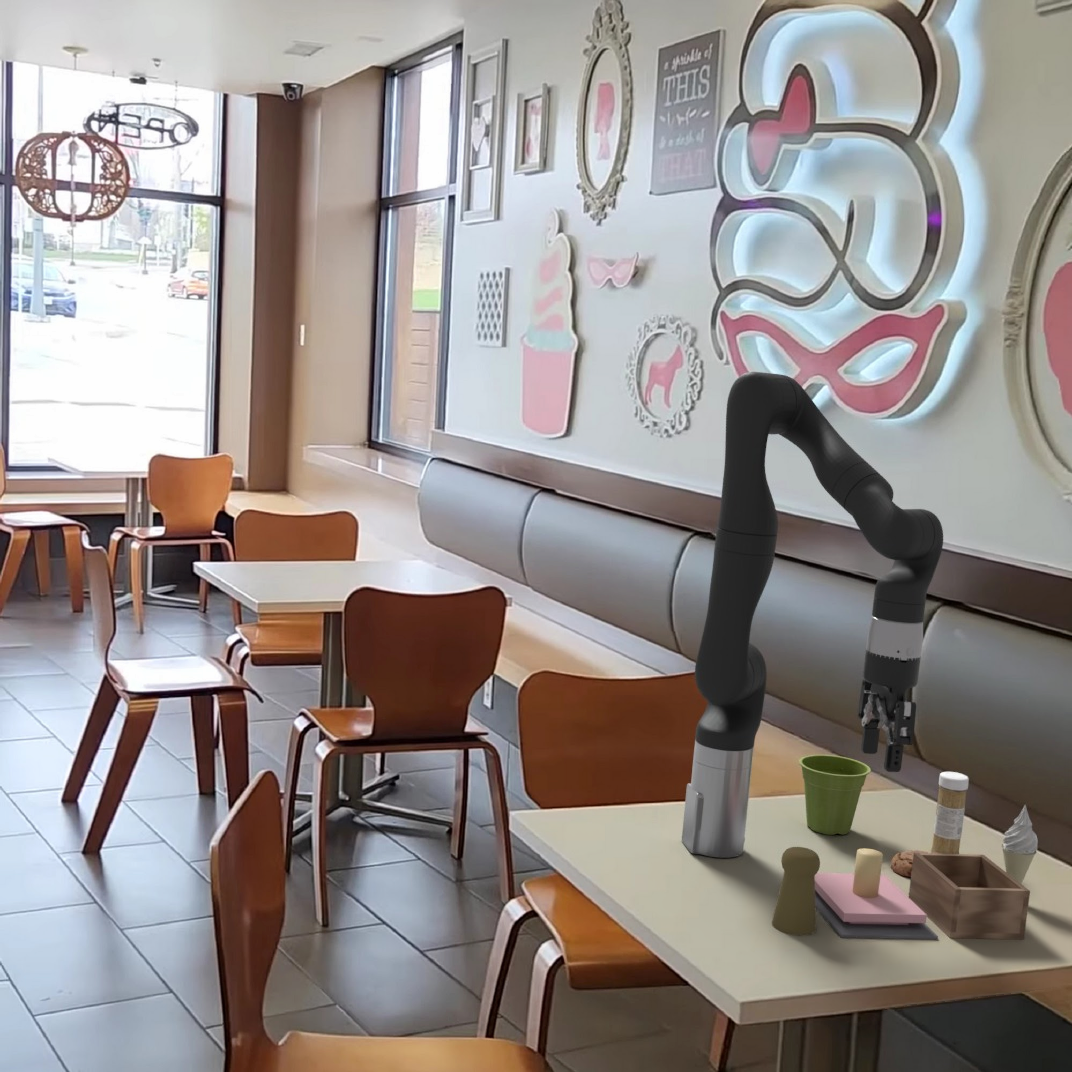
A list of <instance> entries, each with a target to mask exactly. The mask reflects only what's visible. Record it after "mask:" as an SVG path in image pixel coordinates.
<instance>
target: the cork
mask: <svg viewBox="0 0 1072 1072" xmlns="http://www.w3.org/2000/svg"><path fill="white" fill-rule="evenodd" d="M781 867H782V869H783V871H784V872H783V875H782V880H781V885H780V887H779V892H778V896H777V900H776V904H775V907H774V912H773V916H772V920H771V926H772V927H773V928H775V929H776V930H778V931H780V932H781V933H785V934H788V935H793V936H809V935H812V934H814V933H816V932H817V919H816V918H817V917H816V908H815V875H816V873H819V870H820V867H821V861H820V857H819V854H818V853H817V852H816V851H814V850H813V849H811V848H807V847H803V846H790V847H788V848H786V849H785V850H784V851H783V853H782V855H781Z"/></svg>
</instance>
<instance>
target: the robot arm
mask: <svg viewBox="0 0 1072 1072" xmlns="http://www.w3.org/2000/svg"><path fill="white" fill-rule="evenodd" d="M725 415H726V416H725V441H724V443H725V446H724V447H725V448H724V449H725V450H724V467H723V468H724V469H723V477H722V488H721V497H720V498H721V499H720V508H719V514H718V518H717V519H718V520H717V524H716V525H717V526H716V527H717V528H716V535H715V542H714V547H713V549H714V550H713V558H712V559H713V561H712V568H711V569H712V571H711V578H710V587H709V593H708V594H709V595H708V604H707V612H706V618H705V622H704V627H703V632H702V636H701V640H700V643H699V649H698V652H697V655H696V662H695V666H694V667H695V668H694V681H695V684H696V687H697V690H698V692H699V693H700V695H701V696H702V698H703V699H704V700H706V701H707V705H706V708H705V710H704V712H703V714H702V716H701V718H699V720H698V723H696V724H697V725H696V728H695V740H694V749H693V758H692V759H693V760H692V770H691V771H692V772H691V781H690V783H689V782H688V783H687V784H686V791H685V792H686V793H685V801H684V811H683V821H682V822H683V823H682V830H681V831H682V833H681V842H682V843H683V845H684V846H685V847H686V848H687V850H688V851H689V852H690V854H697V855H703V856H706V857H712V858H734V857H738V856H741V855H742V854H743V853H744V846H745V845H744V844H745V840H746V838H745V837H746V835H745V834H746V826H747V819H748V809H749V808H748V807H749V798H750V788H751V780H752V779H751V777H752V770H753V769H752V767H753V760H754V759H753V758H754V749H755V740H756V735H757V733H758V731H759V728H760V726H761V721H762V717H763V709H764V703H765V695H766V688H767V664H766V661H765V658H764V656H763V654H762V652H761V651H760V650H759V649H758V648H757V646H756V645H754V644H753V643H750V640H751V639H750V635H751V629H752V622H753V619H754V615H755V612H756V608H757V607H758V604H759V602H760V599H761V597H762V596H763V592H764V590H765V588H766V585H767V583H768V580H769V577H770V575H771V571H772V568H773V565H774V559H775V555H776V546H777V540H778V532H779V531H778V530H779V520H778V514H777V513H778V512H777V509H776V505H775V502H774V501H775V500H774V498H773V495H772V492H771V489H770V487H769V486H770V485H769V484H768V479H767V475H766V473H767V472H766V454H767V443H768V440H769V439H768V438H769V435H780V436H781V437H782V438H784V439H786V440H788V441H789V442H791V443H792V444H793V445H794V446H796V447H797V448H798V449H799V450H801V451H802V453H803V454H804V455H805V456H806V458H808V461H809V462H810V464H811V466H812V469H813V471H814V474H815V476H816V478H817V480H818V481H819V483H820V484H821V487H822V488H823V489H824V490H825V491H826V492H827V494H828V495H829V496H830V497H831V498H833V500H834V501H836V502H837V503H838V504H839V506H840V507H842V508H843V509H844V510H845V511H846V513H848V514H849V515H850V516H852V518H853V519H854V522H855V523H856V526H857V527H858V528H859V530H860V532H861V533H862V535H863V537H864V538H865V539H866V542H867V543H868V544H869V545H870V546H871V548H873V550H875V551H876V552H877V553H879V555H881V556H882V557H884V558H886V559H889V560H893V561H894V562H893V564H892V567H891V569H890V570H889V572H888V573H886V574H884V575H882V576H881V577H880V578H878V580H877V582H876V583H875V588H874V594H873V595H874V597H873V603H872V612H871V619H870V623H869V626H868V629H867V630H868V632H867V637H866V648H865V655H864V664H863V671H862V678H863V679H862V683H861V686H860V687H861V688H860V695H859V700H858V701H859V702H858V709H857V718H858V719H859V720H861V726H862V727H863V729H862V736H861V737H862V738H861V747H860V751H861V752H862V753H863V754H868V755H874V754H875V755H876V754H877V753H878V746H879V740H880V730H883V731H884V732H885V737H886V747H885V755H884V762H883V764H884V765H883V769H884V770H885V771H886V772H888V773H899V772H900V771H901V769H902V763H903V753H904V747H907V746H912V745H913V743H914V735H915V724H916V715H917V703H916V701H915V702H914V701H907V690H909V689H913V688H915V687H917V685H918V682H919V674H920V668H921V667H920V665H921V660H922V659H921V658H922V651H923V650H922V649H923V641H924V618H925V610H926V609H925V608H926V603H927V600H926V599H927V592H928V589H929V587H930V585H931V583H932V581H933V578H934V575H935V573H936V569H937V567H938V564H939V561H940V559H941V556H942V550H943V546H944V529H943V525H942V522H941V521H940V519H939V518H938V516H937V515H936V514H935V513H934V512H932V511H931V510H927V509H925V508H901V507H900V506H899V505H897V504H896V503H895V502H894V501H893V500H894V490H893V487H892V485H891V484H890V483H889V481H888V480H887V479H886V478H884V476H883V475H881V474H880V473H879V472H878V470H876V469H875V468H874V467H873V466H872V465H871V464H870V463H868V462H867V461H866V459H864V458H863V457H862V456H861V455H860V454H858V453H857V451H855V449H854V448H853V447H851V445H849V443H847V441H846V440H845V439H844V438H843V437H842V436H841V435H840V434H839V432H838V431H837V430H836V429H835V428H834V426H833V425H832V424H831V423H830V421H829V420H828V419H827V418H826V416H825V415H824V414H823V413H822V412H821V410H820V409H819V407H818V406H817V405H816V403H815V402H814V401H813V400H812V398H811V397H810V396H809V394H808V392H806V390H805V389H804V388H803V386H802V385H801V384H800V383H798V381H797V380H795V379H794V378H792V377H790V376H788V375H785V374H781V373H773V372H772V373H770V372H763V371H761V372H760V371H749V372H744V373H743V374H741V375H740V376H738V377H737V378H736V379H735V381H734V382H733V384H732V386H731V388H730V390H729V393H728V397H727V402H726V414H725ZM880 728H881V729H880Z"/></svg>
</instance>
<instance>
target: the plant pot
mask: <svg viewBox="0 0 1072 1072" xmlns="http://www.w3.org/2000/svg"><path fill="white" fill-rule="evenodd" d="M798 765H800V766H801V772H802V773H801V774H802V778H803V784H804V786H803V787H804V798H805V800H804V801H805V813H806V814H805V815H806V826H807V827H809V828H810V829H811V830H812V831H814V832H816V833H818V834H824V835H827V836H834V835H836V834H839V835H841V836H843V835H846V834H849V833H850V831H851V829H852V825H853V822H854V818H855V814H856V811H857V807H858V804H859V799H860V795H861V791H862V788H863V787H864V785H865V782H866V780H867V779H866V778H867V775H869V774H870V773H871V771H872V770H871V768H870V766H868V765H867V764H866V763H864V762H862V761H859V760H856V759H854V758H849V757H844V756H839V755H833V754H832V755H831V754H811V755H806V756H803V757H800V758H799V760H798Z"/></svg>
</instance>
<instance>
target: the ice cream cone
mask: <svg viewBox="0 0 1072 1072" xmlns="http://www.w3.org/2000/svg"><path fill="white" fill-rule="evenodd" d="M1032 826H1033V823H1032V821H1031V819H1030V815H1029V812H1028V810H1027V804H1024V805H1023V808H1022V809H1021V811H1020V813H1019V815H1018V816H1017V817H1016V818H1015V819H1014V820H1013V824H1012V825H1011V826H1010V827H1009V828H1008V830H1006V831H1005V832H1004V836H1005V837H1004V838H1003V840H1002V842H1003V843H1002V844H1001V845H1000V847H1001V849H1002V853H1003V854H1002V855H1003V861H1004V867H1005V872H1006V873H1008V874H1009V875H1010V876H1012V877H1013V878H1014V879H1015V880H1017V881H1018V882H1019V883H1020V884H1022V885H1023V881H1024V880H1025V877H1026V875H1027V873H1028V870H1029V869H1030V866H1031V864H1032V862H1033V859H1034V857H1035V855H1036V854H1037V851H1038V843H1039V841H1038V837H1037V834H1036V833H1035V831H1033V828H1032Z"/></svg>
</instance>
